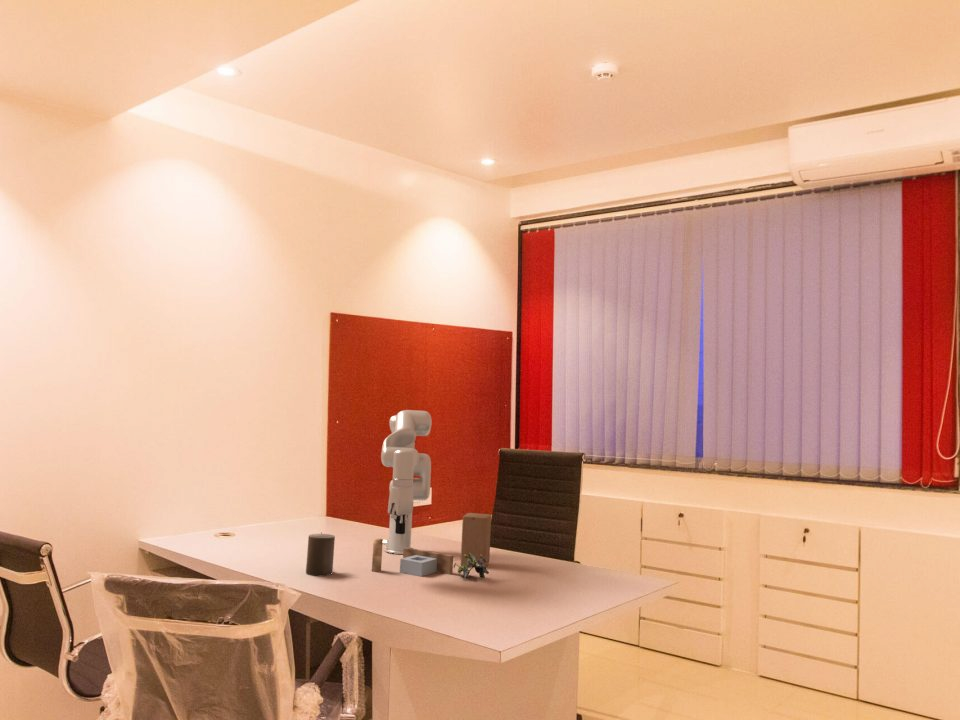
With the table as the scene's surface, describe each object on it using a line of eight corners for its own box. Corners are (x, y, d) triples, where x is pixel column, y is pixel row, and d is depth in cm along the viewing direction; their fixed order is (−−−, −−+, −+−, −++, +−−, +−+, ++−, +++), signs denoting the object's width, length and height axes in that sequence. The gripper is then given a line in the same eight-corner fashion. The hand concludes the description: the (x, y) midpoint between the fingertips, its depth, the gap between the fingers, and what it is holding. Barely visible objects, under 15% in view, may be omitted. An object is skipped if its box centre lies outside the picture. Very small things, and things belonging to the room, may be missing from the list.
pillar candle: (316, 577, 277) (319, 535, 278) (300, 571, 284) (303, 531, 285) (337, 573, 285) (340, 533, 286) (322, 568, 291) (325, 529, 292)
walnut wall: (402, 566, 302) (403, 548, 302) (405, 565, 304) (406, 547, 304) (449, 574, 291) (450, 556, 291) (452, 574, 292) (453, 555, 293)
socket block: (399, 572, 290) (400, 558, 291) (415, 567, 299) (415, 555, 299) (421, 576, 285) (422, 562, 286) (436, 571, 294) (437, 558, 294)
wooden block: (484, 568, 305) (487, 517, 306) (460, 566, 307) (462, 515, 308) (489, 563, 315) (491, 514, 316) (465, 561, 317) (467, 512, 318)
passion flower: (480, 593, 287) (497, 570, 284) (457, 590, 281) (474, 567, 277) (468, 570, 296) (484, 548, 292) (446, 568, 289) (462, 544, 285)
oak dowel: (369, 571, 290) (371, 539, 291) (375, 569, 293) (377, 538, 294) (377, 572, 289) (378, 540, 289) (382, 571, 292) (384, 539, 292)
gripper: (406, 480, 291) (403, 529, 290) (382, 484, 278) (379, 535, 278) (422, 482, 287) (420, 532, 287) (398, 486, 274) (396, 537, 274)
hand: (400, 533), depth 282 cm, fingers closed
